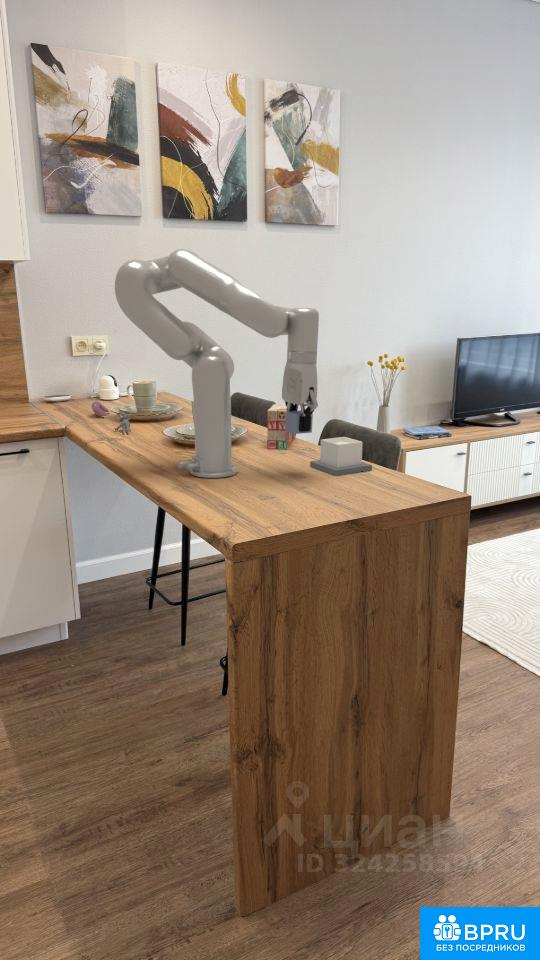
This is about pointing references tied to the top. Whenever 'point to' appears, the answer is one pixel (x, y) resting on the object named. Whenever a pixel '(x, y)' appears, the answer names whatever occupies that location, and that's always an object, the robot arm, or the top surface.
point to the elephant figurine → (124, 423)
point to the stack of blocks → (278, 428)
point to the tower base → (338, 470)
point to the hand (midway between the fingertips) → (298, 428)
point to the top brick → (294, 422)
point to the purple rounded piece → (99, 409)
